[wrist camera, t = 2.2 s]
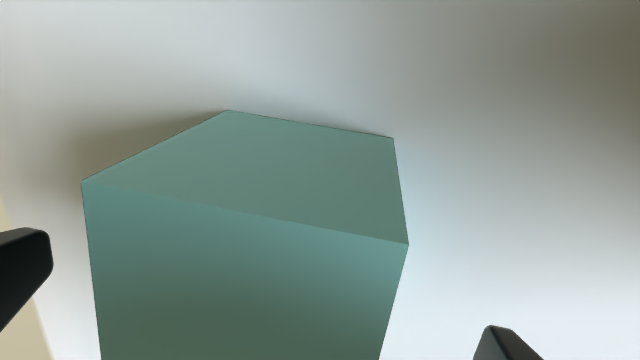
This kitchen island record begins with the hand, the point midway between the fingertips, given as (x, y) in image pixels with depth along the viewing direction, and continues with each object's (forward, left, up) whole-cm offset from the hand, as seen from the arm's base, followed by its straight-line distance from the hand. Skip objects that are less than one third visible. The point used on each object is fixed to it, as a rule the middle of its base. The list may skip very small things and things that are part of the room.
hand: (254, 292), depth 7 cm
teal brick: (0, 0, -5) cm, 5 cm away
